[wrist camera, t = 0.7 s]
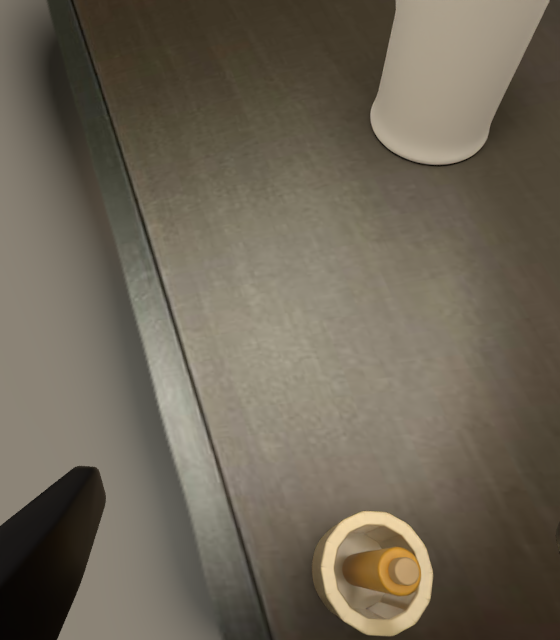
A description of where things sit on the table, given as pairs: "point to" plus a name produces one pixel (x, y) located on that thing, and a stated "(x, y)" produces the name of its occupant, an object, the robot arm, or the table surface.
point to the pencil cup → (360, 603)
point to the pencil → (384, 571)
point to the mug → (449, 74)
